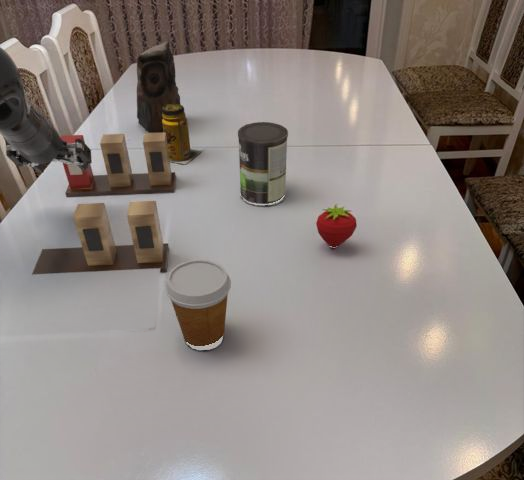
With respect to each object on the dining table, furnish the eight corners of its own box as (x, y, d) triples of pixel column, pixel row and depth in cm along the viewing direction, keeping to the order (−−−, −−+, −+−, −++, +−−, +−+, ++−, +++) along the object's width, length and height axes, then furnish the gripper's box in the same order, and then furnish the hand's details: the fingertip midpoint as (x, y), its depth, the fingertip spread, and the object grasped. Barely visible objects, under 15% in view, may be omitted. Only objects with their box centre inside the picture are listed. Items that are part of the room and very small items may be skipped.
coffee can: (244, 209, 107) (242, 144, 97) (236, 186, 114) (233, 124, 104) (291, 204, 108) (293, 139, 98) (280, 182, 116) (281, 119, 106)
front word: (33, 278, 90) (11, 225, 82) (43, 253, 96) (24, 201, 88) (166, 272, 91) (157, 219, 84) (169, 247, 97) (160, 195, 89)
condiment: (160, 159, 124) (152, 109, 116) (178, 146, 130) (172, 97, 121) (184, 165, 122) (178, 114, 113) (202, 152, 127) (198, 102, 119)
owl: (181, 117, 144) (172, 37, 129) (188, 134, 135) (179, 51, 121) (137, 121, 141) (123, 41, 127) (142, 139, 133) (127, 55, 118)
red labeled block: (70, 189, 111) (56, 144, 104) (74, 179, 115) (61, 135, 108) (90, 188, 112) (78, 143, 105) (94, 178, 115) (82, 134, 108)
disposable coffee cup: (181, 315, 83) (171, 255, 74) (237, 319, 82) (234, 259, 74) (168, 356, 76) (155, 296, 68) (229, 361, 76) (224, 300, 67)
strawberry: (353, 258, 94) (360, 210, 87) (313, 256, 95) (317, 208, 88) (352, 240, 98) (359, 194, 91) (314, 238, 99) (318, 192, 92)
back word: (66, 197, 111) (51, 148, 103) (73, 180, 117) (59, 132, 109) (174, 192, 112) (167, 144, 105) (175, 176, 118) (169, 129, 110)
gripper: (70, 109, 85) (97, 147, 101) (-15, 112, 84) (25, 150, 100) (73, 153, 85) (99, 184, 101) (-12, 156, 84) (28, 187, 101)
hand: (62, 167), depth 101 cm, fingers open, 8 cm apart
